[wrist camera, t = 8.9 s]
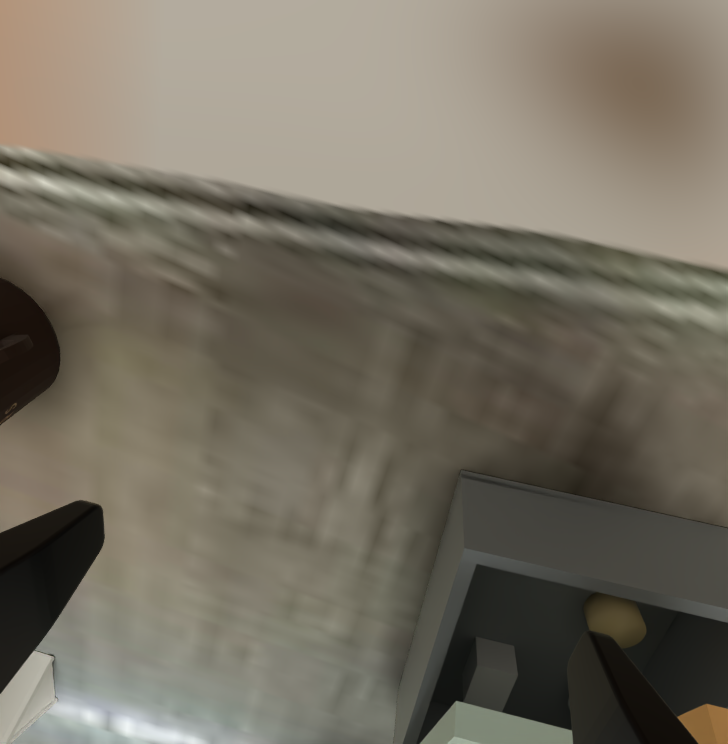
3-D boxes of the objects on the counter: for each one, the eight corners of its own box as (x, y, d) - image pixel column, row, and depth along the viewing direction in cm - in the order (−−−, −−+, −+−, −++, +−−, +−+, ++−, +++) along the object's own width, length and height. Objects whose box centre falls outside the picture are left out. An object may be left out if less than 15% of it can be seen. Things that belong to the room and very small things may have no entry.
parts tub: (594, 756, 29) (627, 893, 23) (393, 704, 30) (382, 823, 24) (731, 529, 21) (826, 651, 16) (460, 469, 22) (465, 566, 17)
